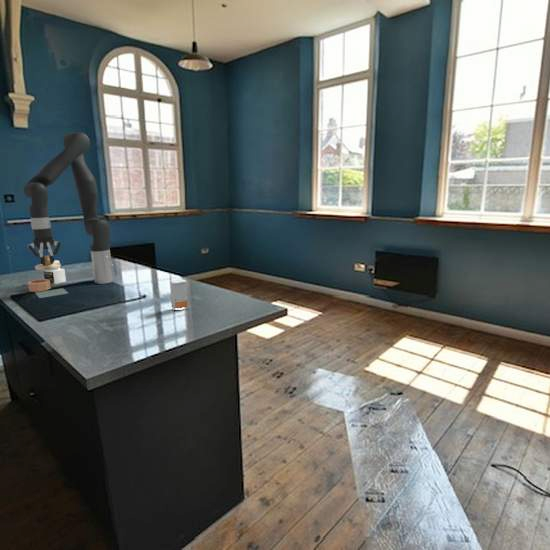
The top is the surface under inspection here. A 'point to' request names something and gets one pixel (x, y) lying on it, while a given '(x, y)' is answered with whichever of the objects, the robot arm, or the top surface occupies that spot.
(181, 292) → the skincare box
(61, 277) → the medicine bottle
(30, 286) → the bowl
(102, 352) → the top surface
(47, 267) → the lid
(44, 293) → the mat
